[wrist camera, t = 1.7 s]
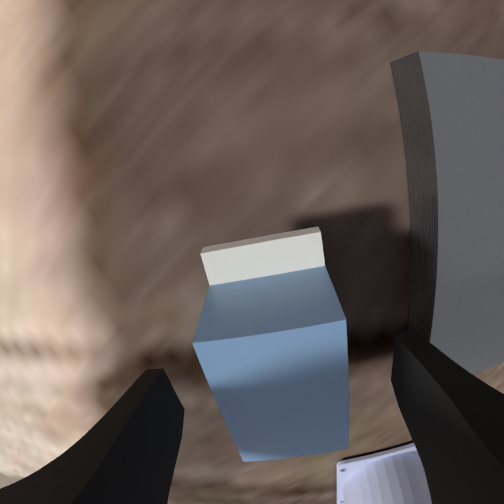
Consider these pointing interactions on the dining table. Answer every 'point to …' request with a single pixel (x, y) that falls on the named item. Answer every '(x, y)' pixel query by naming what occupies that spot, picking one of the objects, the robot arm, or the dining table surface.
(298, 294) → the block
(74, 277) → the dining table surface
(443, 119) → the plate
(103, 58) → the dining table surface
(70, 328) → the dining table surface
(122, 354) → the dining table surface
